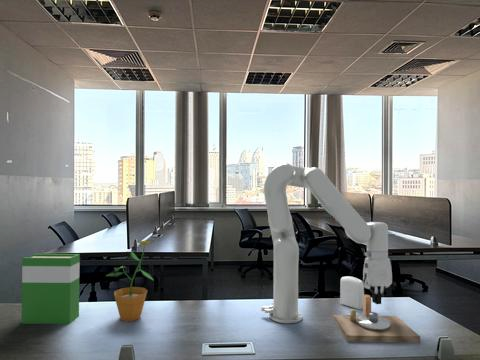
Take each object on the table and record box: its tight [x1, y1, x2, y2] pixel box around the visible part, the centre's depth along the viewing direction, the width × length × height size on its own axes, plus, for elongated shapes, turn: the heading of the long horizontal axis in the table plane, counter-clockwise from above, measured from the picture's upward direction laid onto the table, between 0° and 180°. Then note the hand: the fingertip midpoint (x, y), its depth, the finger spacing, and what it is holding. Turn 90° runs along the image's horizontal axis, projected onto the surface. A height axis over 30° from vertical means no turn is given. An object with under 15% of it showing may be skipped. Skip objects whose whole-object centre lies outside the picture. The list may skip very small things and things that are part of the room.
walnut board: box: [332, 308, 421, 343], centre depth 125 cm, size 24×18×6 cm
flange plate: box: [357, 294, 390, 331], centre depth 126 cm, size 14×11×8 cm
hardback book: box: [21, 253, 81, 325], centre depth 132 cm, size 18×7×24 cm, turn 90°
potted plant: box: [104, 240, 154, 322], centre depth 135 cm, size 18×19×30 cm
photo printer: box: [339, 275, 365, 310], centre depth 150 cm, size 10×4×12 cm, turn 39°
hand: (376, 302), depth 133 cm, fingers closed
